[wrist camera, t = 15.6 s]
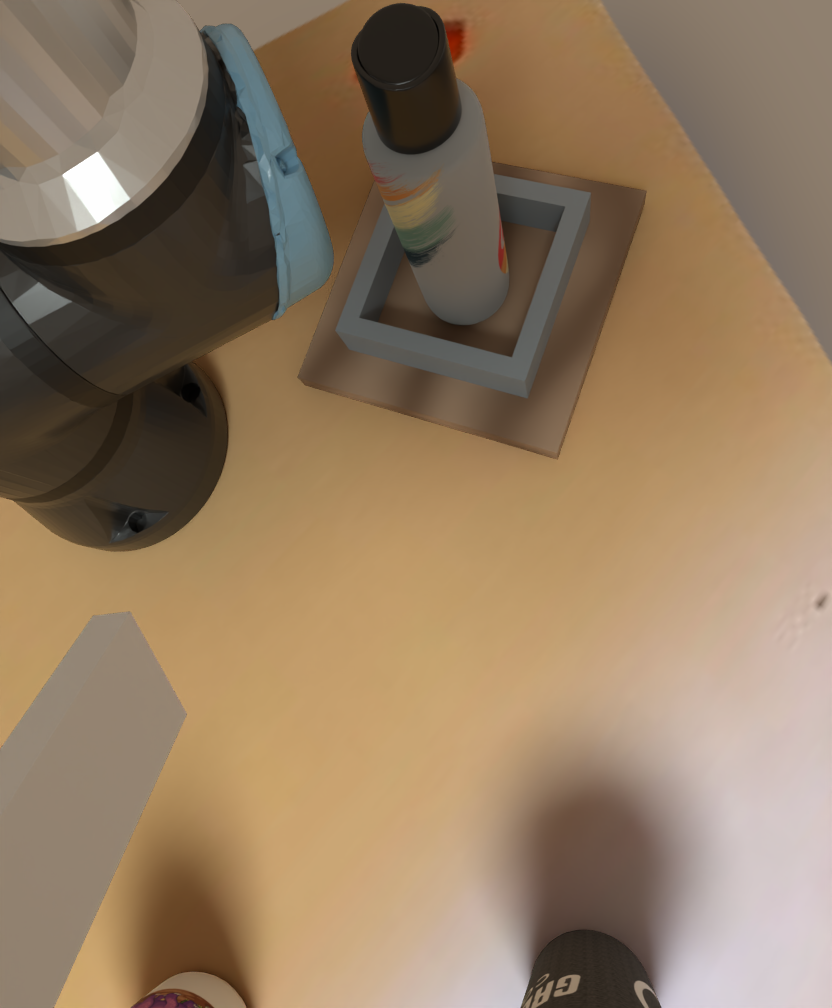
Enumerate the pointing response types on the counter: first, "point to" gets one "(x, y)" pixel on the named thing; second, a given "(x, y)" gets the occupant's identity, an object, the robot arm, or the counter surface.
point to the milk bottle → (192, 993)
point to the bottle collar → (458, 361)
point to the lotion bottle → (432, 162)
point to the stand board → (487, 326)
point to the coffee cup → (588, 975)
